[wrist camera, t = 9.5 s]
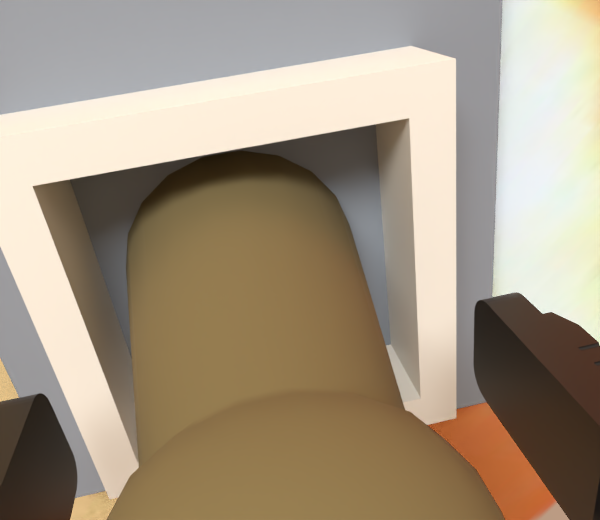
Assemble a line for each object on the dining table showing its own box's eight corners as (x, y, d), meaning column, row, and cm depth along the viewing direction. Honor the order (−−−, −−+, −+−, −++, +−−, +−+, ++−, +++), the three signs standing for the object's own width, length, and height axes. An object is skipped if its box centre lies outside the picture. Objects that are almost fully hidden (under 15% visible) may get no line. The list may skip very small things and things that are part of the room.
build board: (474, -73, 14) (573, -92, 10) (469, 374, 20) (527, 457, 17) (-125, 17, 12) (-251, 30, 9) (77, 462, 19) (50, 573, 15)
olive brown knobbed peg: (267, 384, 17) (370, 932, 7) (80, 293, 14) (-145, 928, 5) (396, 231, 15) (753, 668, 6) (210, 100, 13) (266, 464, 3)
